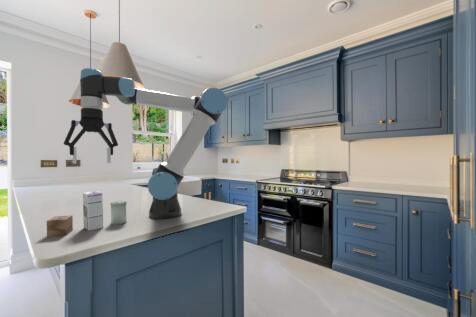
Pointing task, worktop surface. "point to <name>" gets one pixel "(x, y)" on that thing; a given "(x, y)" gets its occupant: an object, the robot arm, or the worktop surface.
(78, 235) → the worktop surface
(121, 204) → the sage jar
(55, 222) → the cardboard box
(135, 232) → the worktop surface
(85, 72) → the robot arm
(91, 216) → the syrup box
